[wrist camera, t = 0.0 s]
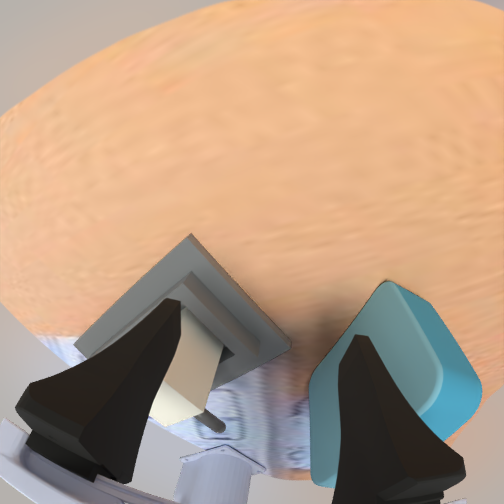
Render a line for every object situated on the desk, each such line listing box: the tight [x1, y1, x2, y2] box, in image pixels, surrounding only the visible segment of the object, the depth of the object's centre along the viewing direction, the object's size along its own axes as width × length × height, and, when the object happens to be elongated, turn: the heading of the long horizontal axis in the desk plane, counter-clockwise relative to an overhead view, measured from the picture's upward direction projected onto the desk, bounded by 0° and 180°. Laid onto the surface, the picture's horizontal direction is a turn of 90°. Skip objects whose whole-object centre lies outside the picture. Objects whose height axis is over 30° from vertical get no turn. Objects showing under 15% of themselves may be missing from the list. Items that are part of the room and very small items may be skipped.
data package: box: [309, 281, 482, 488], centre depth 19 cm, size 12×4×12 cm, turn 155°
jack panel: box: [73, 233, 291, 391], centre depth 25 cm, size 19×12×3 cm, turn 131°
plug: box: [149, 307, 226, 433], centre depth 21 cm, size 4×8×8 cm, turn 41°
